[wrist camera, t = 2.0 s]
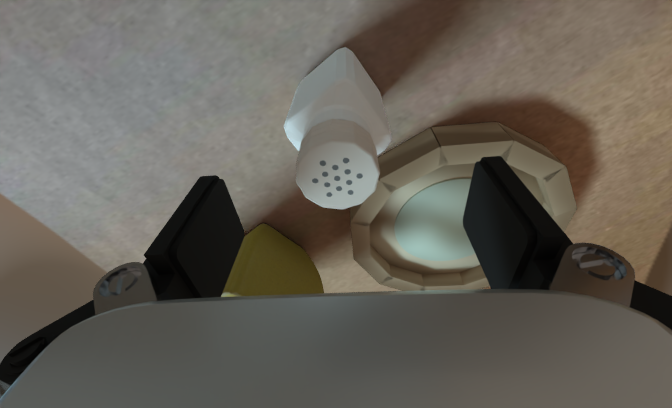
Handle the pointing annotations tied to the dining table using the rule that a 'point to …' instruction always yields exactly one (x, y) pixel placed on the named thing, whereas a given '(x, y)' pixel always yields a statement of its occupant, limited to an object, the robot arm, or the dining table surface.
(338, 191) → the pepper shaker
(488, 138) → the tray
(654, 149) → the dining table surface
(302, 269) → the flower pot
